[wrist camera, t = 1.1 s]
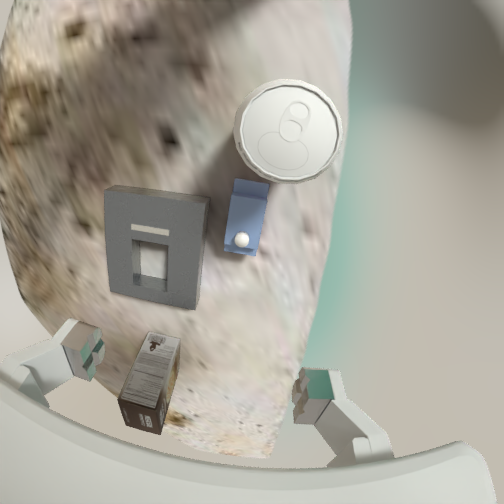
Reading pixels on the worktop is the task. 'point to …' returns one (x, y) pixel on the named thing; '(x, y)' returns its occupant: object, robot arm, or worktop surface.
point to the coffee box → (150, 383)
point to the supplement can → (288, 131)
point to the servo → (245, 216)
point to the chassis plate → (156, 231)
